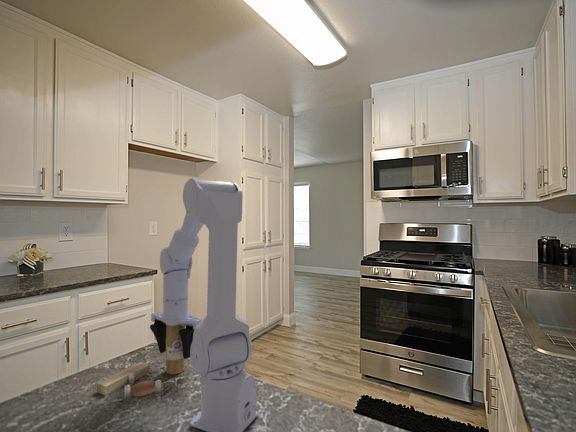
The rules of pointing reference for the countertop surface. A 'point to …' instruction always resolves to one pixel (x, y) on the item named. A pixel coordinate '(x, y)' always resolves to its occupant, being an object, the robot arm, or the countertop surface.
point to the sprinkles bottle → (174, 349)
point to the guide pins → (131, 381)
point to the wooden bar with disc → (122, 380)
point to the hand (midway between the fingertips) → (175, 354)
